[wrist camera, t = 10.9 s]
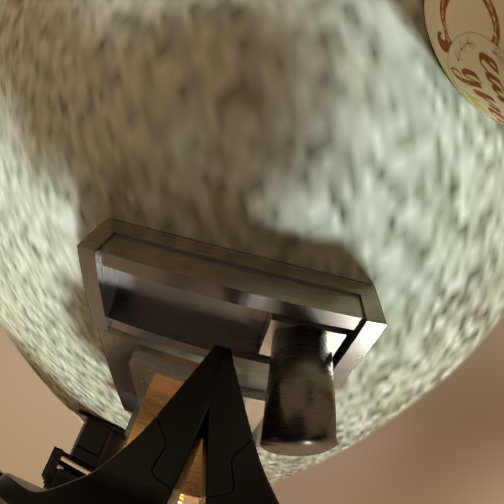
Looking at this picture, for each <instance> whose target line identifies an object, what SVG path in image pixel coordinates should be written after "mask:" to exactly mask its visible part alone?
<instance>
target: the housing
mask: <svg viewBox="0 0 504 504" xmlns="http://www.w3.org/2000/svg"><path fill="white" fill-rule="evenodd" d="M177 391H178V390H174V389H171V388H168V387H165V386H162V385H159V384H156V383H153V382H151V384H150V386H149V388H148V391H147V393H146V396H145V398H144V401H143V403H142V405H141V408H140V410H139V413H138V415H137V418H136V421H135V423H134V426H133V428H132V431H131V433H130V436H129V439H128V441H127V444H126V446H127V445H128V444H129V443H130V442H131V441H132V440H133V439H134V438H136V437H137V436H138V435H139V434H140V433H141V432H142V431H143V430H144V428H145V427H146V426H147V425H148V424H149V423H150V422H151V421H152V420H153V418H154V417H157V416H156V415H157V414H158V413H159V412H160V411H161V409H162V408H163V407H164V406H165V405H166V404H167V402H168V401H169V400H170V399H171V398H172V396H173V395H174V394H175V393H176V392H177ZM202 443H203V438H202V441H201V443H200V446H199V449H198V451H197V454H196V457H195V459H194V462H193V464H192V467H191V469H190V472H189V475H188V477H187V480H186V482H185V485H184V487H183V490H182V493H181V495H180V498H179V500H178V504H183V503H184V502H188V503H192V504H199V490H200V473H201V457H202Z"/></svg>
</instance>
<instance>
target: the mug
mask: <svg viewBox="0 0 504 504" xmlns="http://www.w3.org/2000/svg"><path fill="white" fill-rule="evenodd" d="M424 15H425V23H426V27H427V31H428V35H429V38H430V41H431V44H432V47H433V49H434V52H435V54H436V56H437V58H438V60H439V62H440V64H441V66H442V68H443V70H444V71H445V73H446V74H447V76H448V78H449V79H450V81H451V82H452V83H453V85H454V86H455V87H456V89H457V90H458V91H459V92H460V94H461V95H462V96H463V97H464V98H465V99H466V100H467V101H468V102H469V103H470V104H471V105H472V106H473V107H475V108H476V109H477V110H478V111H480V112H481V113H483V114H484V115H486V116H487V117H489V118H491V119H493V120H495V121H497V122H498V123H500V124H502V125H504V0H425V1H424Z"/></svg>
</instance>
